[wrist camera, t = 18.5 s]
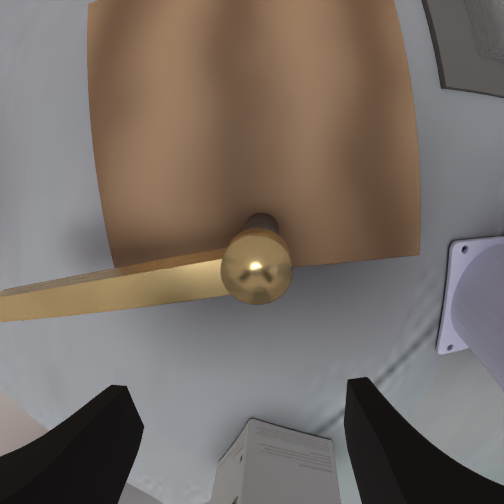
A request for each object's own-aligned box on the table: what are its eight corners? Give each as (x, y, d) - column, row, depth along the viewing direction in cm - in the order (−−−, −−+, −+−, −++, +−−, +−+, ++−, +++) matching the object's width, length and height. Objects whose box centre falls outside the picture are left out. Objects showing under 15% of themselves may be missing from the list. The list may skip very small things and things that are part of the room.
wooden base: (372, -20, 12) (407, -73, 7) (405, 244, 17) (457, 285, 11) (103, 14, 14) (48, -22, 8) (131, 268, 18) (80, 315, 13)
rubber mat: (514, -13, 10) (518, -15, 10) (545, 107, 13) (550, 107, 13) (405, -48, 11) (408, -52, 11) (441, 88, 14) (446, 86, 14)
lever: (284, 222, 11) (286, 231, 9) (295, 283, 11) (297, 298, 10) (0, 280, 12) (-15, 289, 11) (16, 320, 13) (3, 331, 12)
